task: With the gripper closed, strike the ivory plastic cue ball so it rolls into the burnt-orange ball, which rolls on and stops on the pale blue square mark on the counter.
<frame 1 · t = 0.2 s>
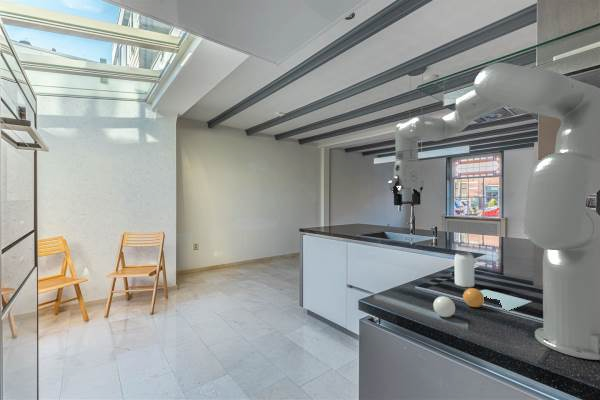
hand: (407, 204, 103), 31 cm above the worktop, fingers open, 9 cm apart
cue ball: (444, 306, 80), on the worktop
can: (464, 285, 108), on the worktop
object ball: (473, 297, 87), on the worktop
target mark: (495, 299, 92), on the worktop
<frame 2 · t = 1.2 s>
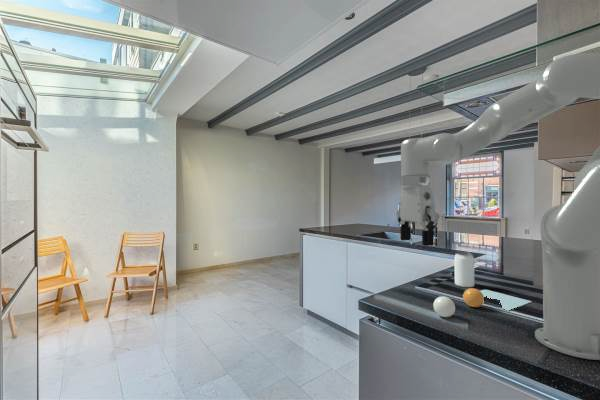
hand: (416, 242, 81), 21 cm above the worktop, fingers open, 9 cm apart
nothing on the worktop moved.
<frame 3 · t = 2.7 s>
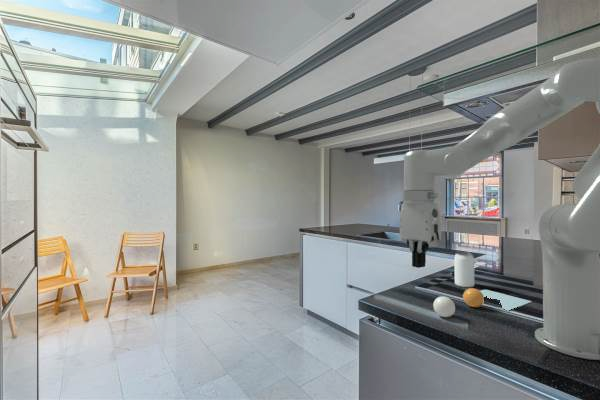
hand: (418, 266, 76), 15 cm above the worktop, fingers closed
nothing on the worktop moved.
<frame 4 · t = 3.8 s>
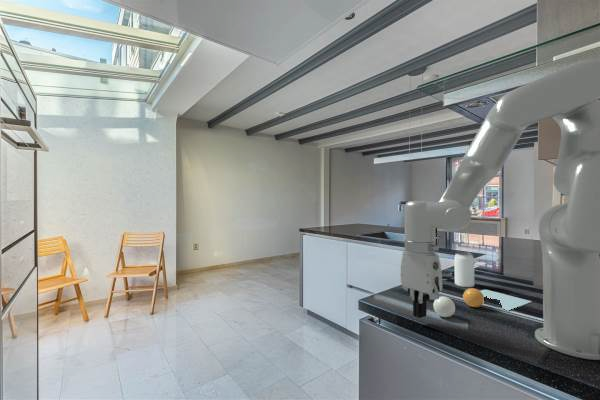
hand: (419, 316, 76), 2 cm above the worktop, fingers closed
nothing on the worktop moved.
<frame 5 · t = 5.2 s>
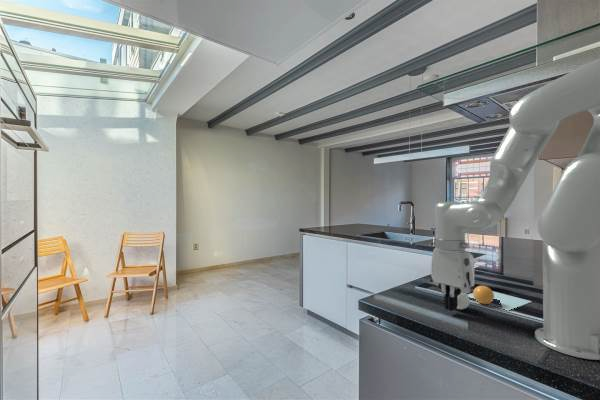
hand: (450, 309, 82), 1 cm above the worktop, fingers closed
cue ball: (459, 299, 85), on the worktop
object ball: (483, 294, 89), on the worktop
everything else where it was.
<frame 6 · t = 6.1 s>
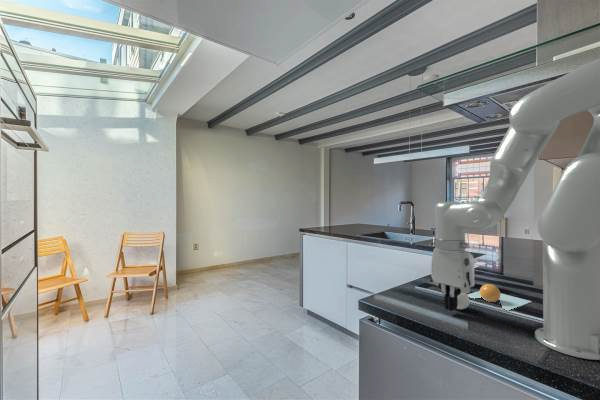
hand: (450, 308, 82), 1 cm above the worktop, fingers closed
object ball: (489, 292, 91), on the worktop
everything else where it was.
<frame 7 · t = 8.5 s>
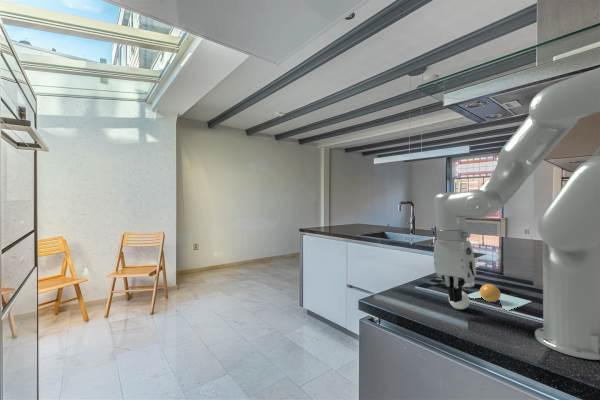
hand: (455, 300, 81), 4 cm above the worktop, fingers closed
nothing on the worktop moved.
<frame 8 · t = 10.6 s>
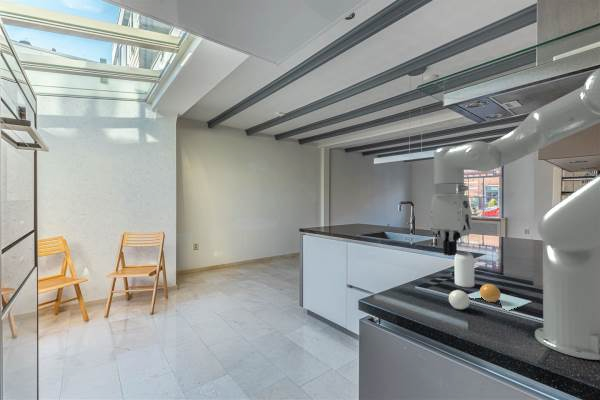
hand: (450, 254, 81), 17 cm above the worktop, fingers closed
nothing on the worktop moved.
at the end: object ball 3.5 cm from the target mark (horizontally); object ball never touched the robot; cue ball first touched object ball at 4.7 s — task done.
